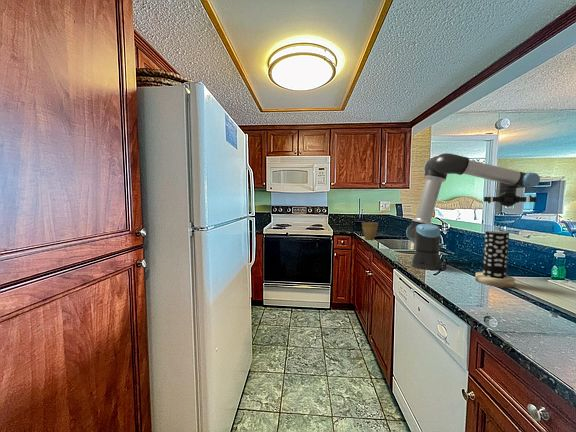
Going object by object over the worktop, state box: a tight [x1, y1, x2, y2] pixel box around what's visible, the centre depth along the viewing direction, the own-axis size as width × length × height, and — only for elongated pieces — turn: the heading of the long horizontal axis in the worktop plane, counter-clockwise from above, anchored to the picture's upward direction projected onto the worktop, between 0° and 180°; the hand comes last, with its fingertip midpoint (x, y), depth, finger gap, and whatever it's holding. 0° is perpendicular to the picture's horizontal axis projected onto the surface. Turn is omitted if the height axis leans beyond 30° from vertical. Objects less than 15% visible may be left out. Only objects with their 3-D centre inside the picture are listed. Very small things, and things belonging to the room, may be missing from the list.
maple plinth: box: [474, 271, 516, 289], centre depth 117 cm, size 14×14×3 cm
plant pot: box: [361, 221, 379, 241], centre depth 242 cm, size 15×15×16 cm
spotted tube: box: [482, 230, 510, 279], centre depth 117 cm, size 8×8×20 cm
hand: (509, 199), depth 125 cm, fingers open, 13 cm apart
